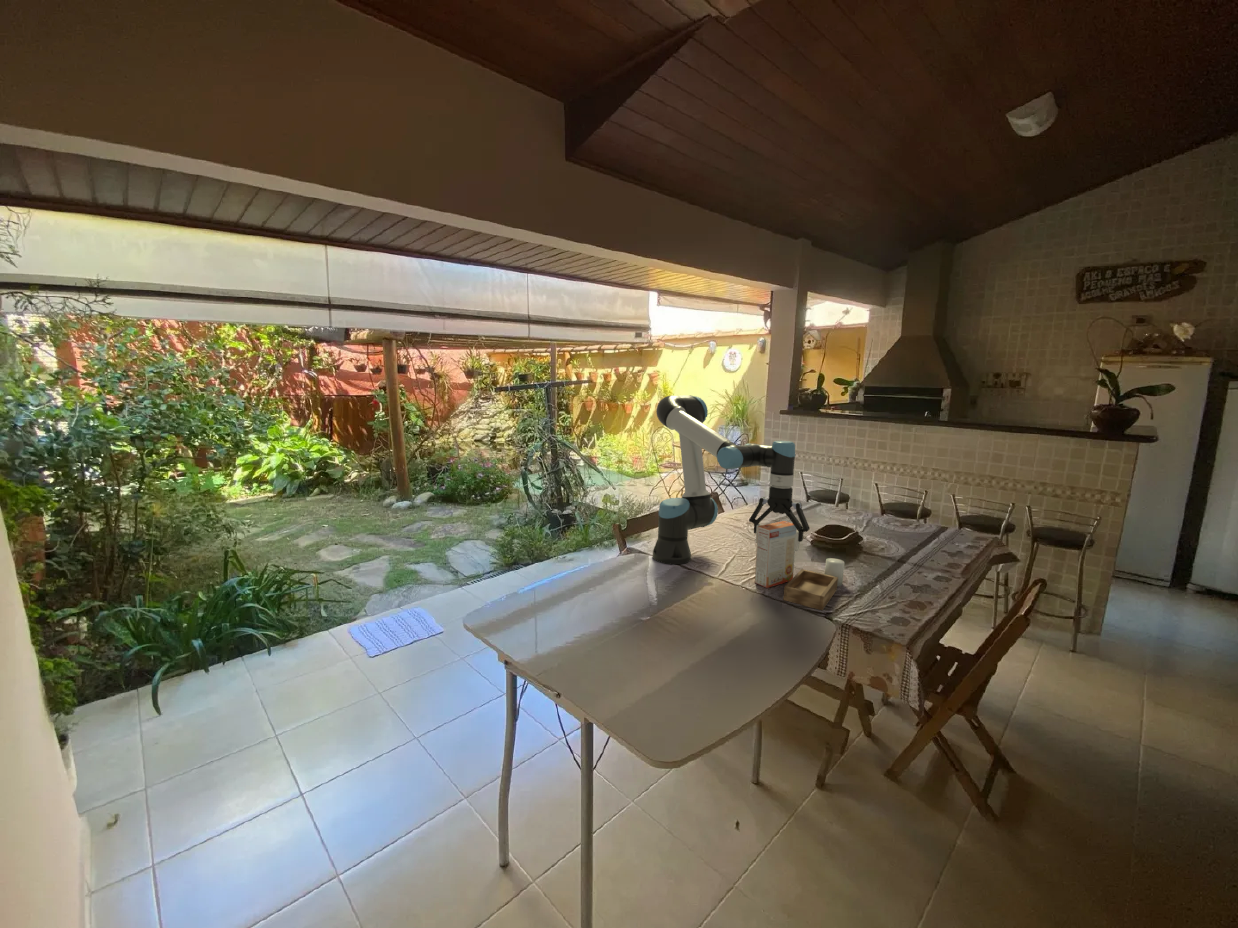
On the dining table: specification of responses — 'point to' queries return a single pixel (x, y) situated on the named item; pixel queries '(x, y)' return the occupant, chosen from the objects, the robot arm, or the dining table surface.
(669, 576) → the dining table surface
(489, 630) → the dining table surface
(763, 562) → the cracker box
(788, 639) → the dining table surface
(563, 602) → the dining table surface
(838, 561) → the cream rounded shape
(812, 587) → the tray
